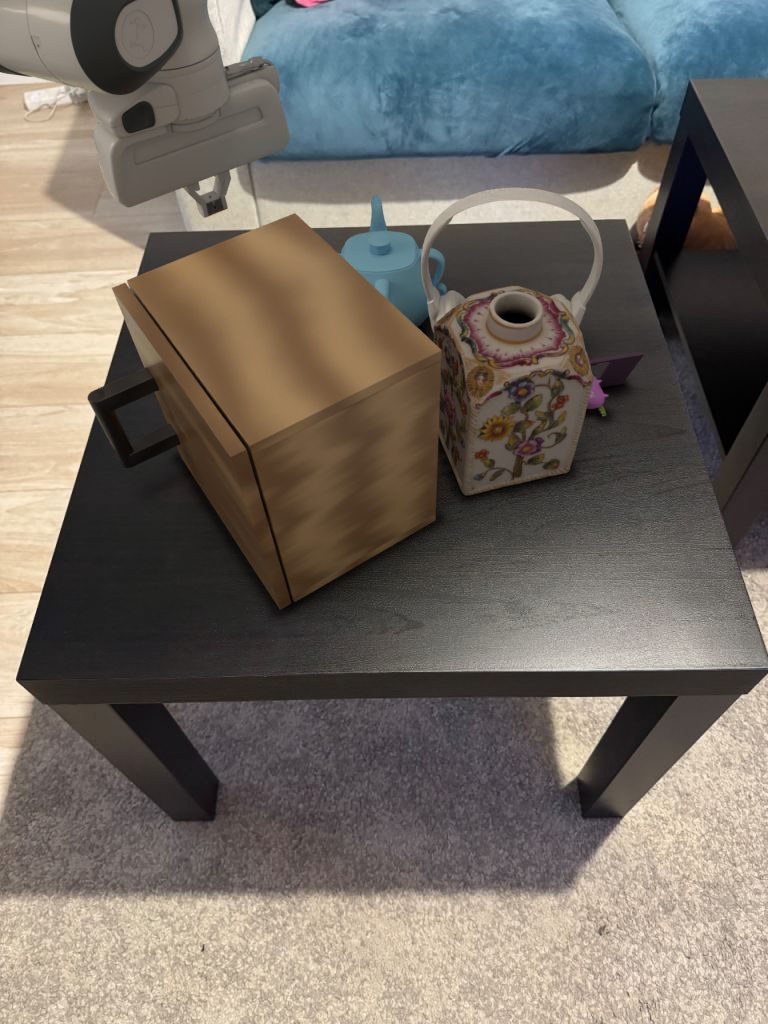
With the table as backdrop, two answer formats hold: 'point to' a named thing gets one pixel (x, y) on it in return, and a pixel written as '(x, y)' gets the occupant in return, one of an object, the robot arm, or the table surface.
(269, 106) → the robot arm
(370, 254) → the teapot
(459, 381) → the decorative jar
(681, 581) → the table surface
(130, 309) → the door
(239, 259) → the cupboard
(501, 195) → the headphones
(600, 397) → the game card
